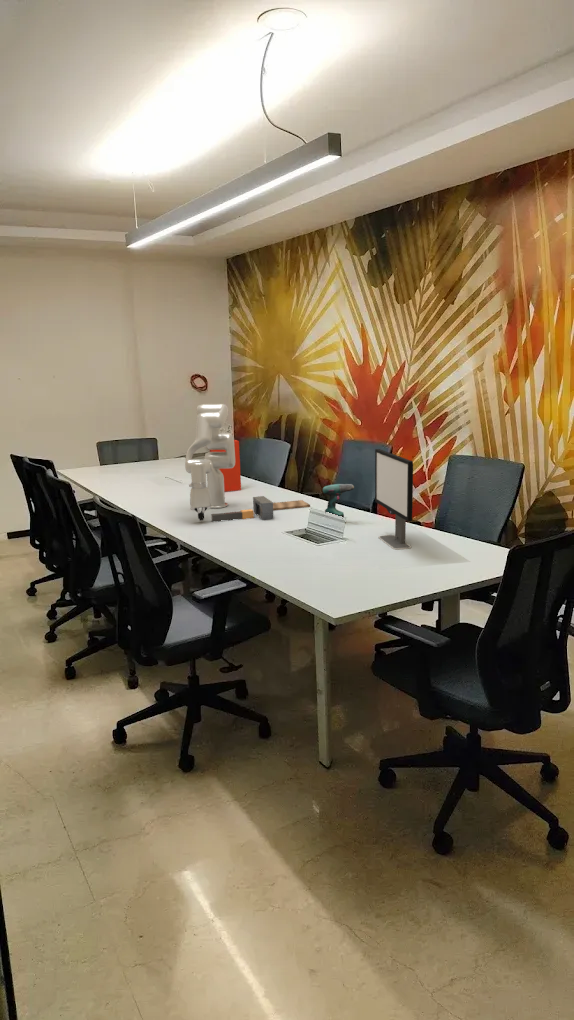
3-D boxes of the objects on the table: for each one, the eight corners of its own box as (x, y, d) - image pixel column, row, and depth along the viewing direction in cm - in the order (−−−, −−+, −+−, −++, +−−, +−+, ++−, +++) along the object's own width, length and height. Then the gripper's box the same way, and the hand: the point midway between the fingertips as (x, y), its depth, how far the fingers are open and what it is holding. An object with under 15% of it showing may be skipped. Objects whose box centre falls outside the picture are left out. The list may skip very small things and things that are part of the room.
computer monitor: (370, 532, 313) (370, 449, 304) (387, 530, 315) (387, 448, 306) (402, 556, 274) (403, 462, 265) (421, 554, 276) (423, 460, 267)
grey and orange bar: (213, 522, 341) (212, 514, 340) (211, 520, 345) (210, 513, 345) (255, 517, 348) (255, 510, 347) (253, 516, 352) (253, 508, 351)
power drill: (352, 524, 328) (352, 485, 324) (321, 522, 334) (320, 484, 329) (355, 521, 335) (355, 482, 330) (325, 519, 340) (324, 481, 336)
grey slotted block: (262, 520, 342) (261, 503, 340) (253, 513, 359) (252, 497, 357) (273, 519, 344) (272, 502, 342) (264, 511, 361) (263, 496, 359)
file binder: (212, 490, 424) (209, 441, 416) (237, 488, 430) (235, 439, 422) (215, 493, 416) (212, 443, 409) (241, 490, 422) (239, 441, 415)
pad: (266, 511, 362) (266, 509, 362) (259, 506, 375) (259, 504, 375) (310, 506, 370) (310, 504, 370) (302, 502, 383) (302, 500, 383)
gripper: (186, 488, 332) (188, 523, 336) (214, 485, 336) (216, 520, 340) (183, 485, 339) (185, 519, 343) (212, 483, 343) (213, 517, 347)
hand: (201, 519), depth 341 cm, fingers closed
